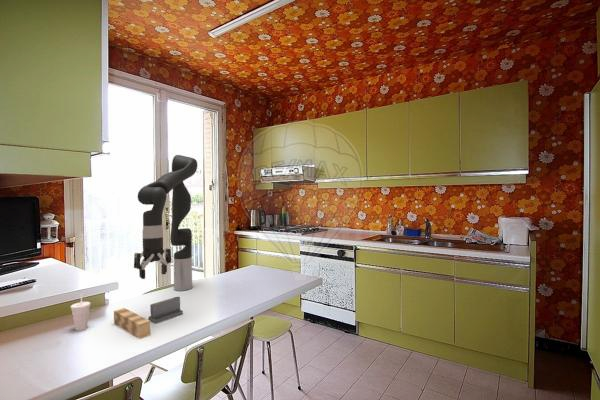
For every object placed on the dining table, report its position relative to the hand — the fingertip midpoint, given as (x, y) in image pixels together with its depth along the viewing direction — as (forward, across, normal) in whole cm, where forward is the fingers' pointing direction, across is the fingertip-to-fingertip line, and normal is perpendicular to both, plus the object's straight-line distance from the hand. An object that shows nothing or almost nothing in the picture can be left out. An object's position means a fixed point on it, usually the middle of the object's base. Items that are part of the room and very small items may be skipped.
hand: (153, 276), depth 124 cm
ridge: (+19, -6, -2) cm, 20 cm away
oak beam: (+20, +8, -3) cm, 21 cm away
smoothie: (+19, +19, -19) cm, 33 cm away
